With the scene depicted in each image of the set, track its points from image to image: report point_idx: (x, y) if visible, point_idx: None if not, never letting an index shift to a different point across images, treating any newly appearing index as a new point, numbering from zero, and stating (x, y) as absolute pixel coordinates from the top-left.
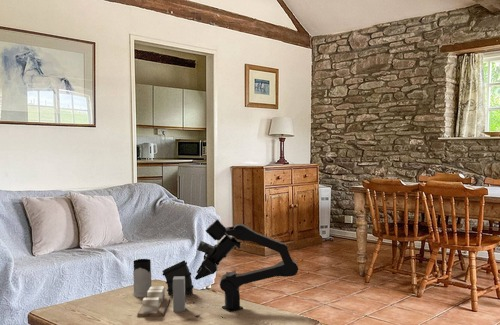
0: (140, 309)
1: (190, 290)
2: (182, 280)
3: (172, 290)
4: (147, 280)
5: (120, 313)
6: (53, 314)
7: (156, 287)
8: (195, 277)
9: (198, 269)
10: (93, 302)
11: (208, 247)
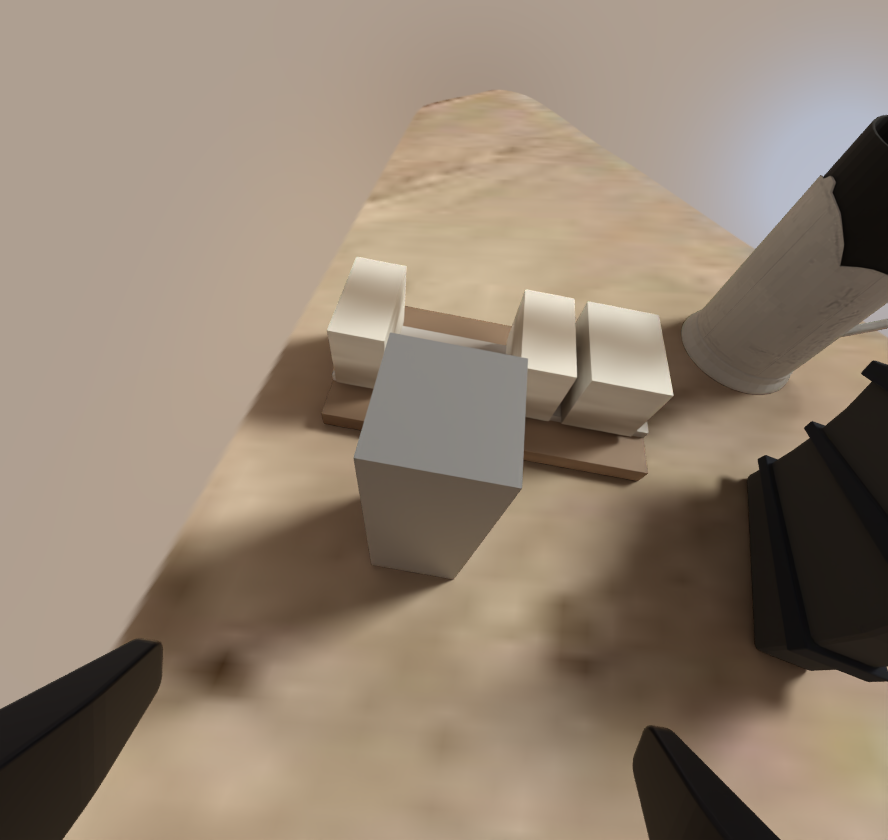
0: (426, 313)
1: (788, 643)
2: (360, 448)
3: (765, 492)
4: (778, 303)
5: (434, 257)
6: (475, 116)
7: (637, 344)
8: (108, 656)
9: (692, 802)
10: (594, 194)
11: None
